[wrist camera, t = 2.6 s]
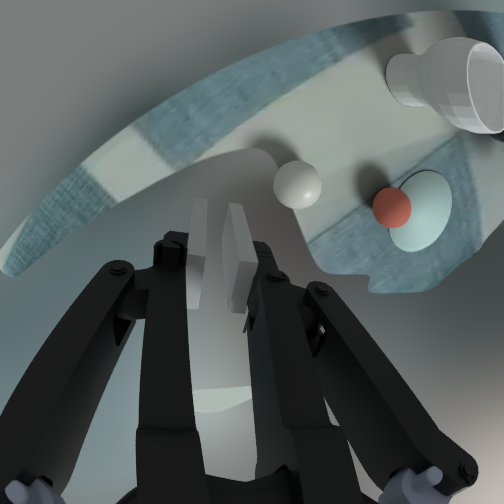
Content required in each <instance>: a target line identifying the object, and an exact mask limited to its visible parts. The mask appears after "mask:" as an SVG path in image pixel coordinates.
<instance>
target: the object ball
mask: <svg viewBox="0 0 504 504" xmlns="http://www.w3.org/2000/svg"><path fill="white" fill-rule="evenodd" d="M373 213H374V216H375V218H376V219H377V221H378V222H379V223H380V224H381V225H383V226H385V227H388V228H398V227H400V226H402V225H404V224H405V223H406V222H407V221H408V219H409V217H410V214H411V203H410V200H409V198H408V196H407V195H406V194H405V193H404V192H403V191H402V190H400V189H398V188H395V187H388V188H384V189H382V190H381V191H379V192H378V193H377V195H376V196H375V198H374V201H373Z"/></svg>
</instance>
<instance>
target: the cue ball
mask: <svg viewBox="0 0 504 504" xmlns="http://www.w3.org/2000/svg"><path fill="white" fill-rule="evenodd" d="M273 188H274V192H275V195H276V197H277V198H278V200H279V201H280V202H281V203H283V204H284V205H285V206H287V207H289V208H293V209H303V208H306V207H309V206H310V205H312V204H313V203H314V202H315V201H316V200H317V199H318V197H319V195H320V193H321V189H322V181H321V177H320V175H319V173H318V171H317V170H316V169H315V168H314V167H313V166H312V165H310V164H309V163H307V162H304V161H290V162H287V163H285V164H284V165H282V166H281V167H280V168H279V169H278V171H277V172H276V174H275V176H274V180H273Z"/></svg>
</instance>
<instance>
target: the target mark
mask: <svg viewBox="0 0 504 504" xmlns="http://www.w3.org/2000/svg"><path fill="white" fill-rule="evenodd" d="M400 190H402V191H403V192H404V193H405V194H406V195H407V196H408V198H409V200H410V203H411V214H410V217H409V219H408V221H407V222H406V223H405V224H404V225H402V226H400V227H398V228H389V233H390V236H391V239H392V241H393V242H394V244H395V245H396V246H397V247H398V248H400V249H401V250H404V251H407V252H415V251H419V250H422V249H424V248H426V247H427V246H429V245H430V244H432V243H433V242H434V241H435V240H436V239H437V238H438V237H439V235H440V234H441V233H442V231H443V229H444V228H445V226H446V224H447V222H448V219H449V216H450V212H451V206H452V196H451V190H450V187H449V185H448V183H447V181H446V180H445V178H444V177H443V176H442V175H440V174H439V173H436V172H434V171H422V172H419V173H417V174H415V175H413V176H412V177H410V178H409V179H408V180H407V181H406V182H405V183H404V184H403V185H402V186H401V187H400Z"/></svg>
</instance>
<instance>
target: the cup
mask: <svg viewBox="0 0 504 504" xmlns="http://www.w3.org/2000/svg"><path fill="white" fill-rule="evenodd" d="M386 80H387V84H388V87H389V89H390V91H391V93H392V94H393V96H394V97H395V98H396V99H397V100H398V101H399V102H400V103H402V104H404V105H406V106H411V107H412V106H425V105H426V106H429V107H432V108H433V109H434V110H435V111H436V112H437V113H438V114H439V115H440V116H442V117H443V118H445V119H446V120H448V121H449V122H451V123H452V124H454V125H455V126H456V127H458V128H461V129H465V130H468V131H471V132H475V133H487V134H495V133H500V132H502V131H503V130H504V60H503V59H502V57H501V56H500V54H499V53H498V52H497V51H496V50H495V49H494V48H493V47H492V46H490V45H489V44H487V43H485V42H481V41H478V40H474V39H470V38H466V37H450V38H446V39H443V40H441V41H439V42H437V43H435V44H433V45H432V46H431V47H430V48H428V49H427V50H426V52H425V53H424V54H421V55H414V54H397V55H395V56H393V57H392V58H391V59H390V60H389V62H388V64H387V68H386Z"/></svg>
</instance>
